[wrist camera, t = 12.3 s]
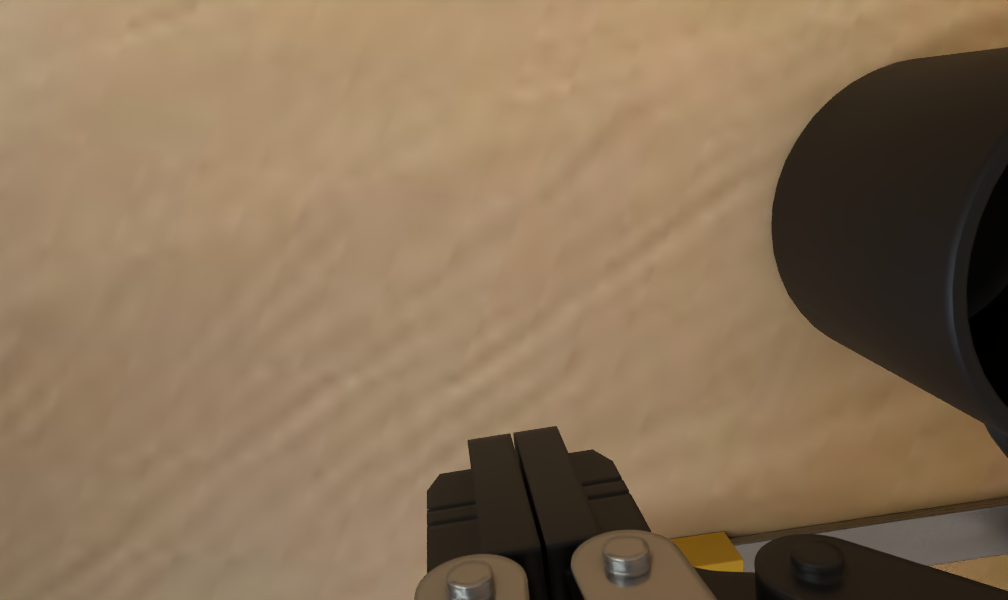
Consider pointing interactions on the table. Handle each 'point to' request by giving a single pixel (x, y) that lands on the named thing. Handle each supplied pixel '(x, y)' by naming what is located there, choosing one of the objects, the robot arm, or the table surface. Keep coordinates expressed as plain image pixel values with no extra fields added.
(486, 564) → the robot arm
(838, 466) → the table surface
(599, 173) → the table surface
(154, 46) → the table surface
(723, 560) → the letter opener
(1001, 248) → the mug
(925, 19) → the table surface
